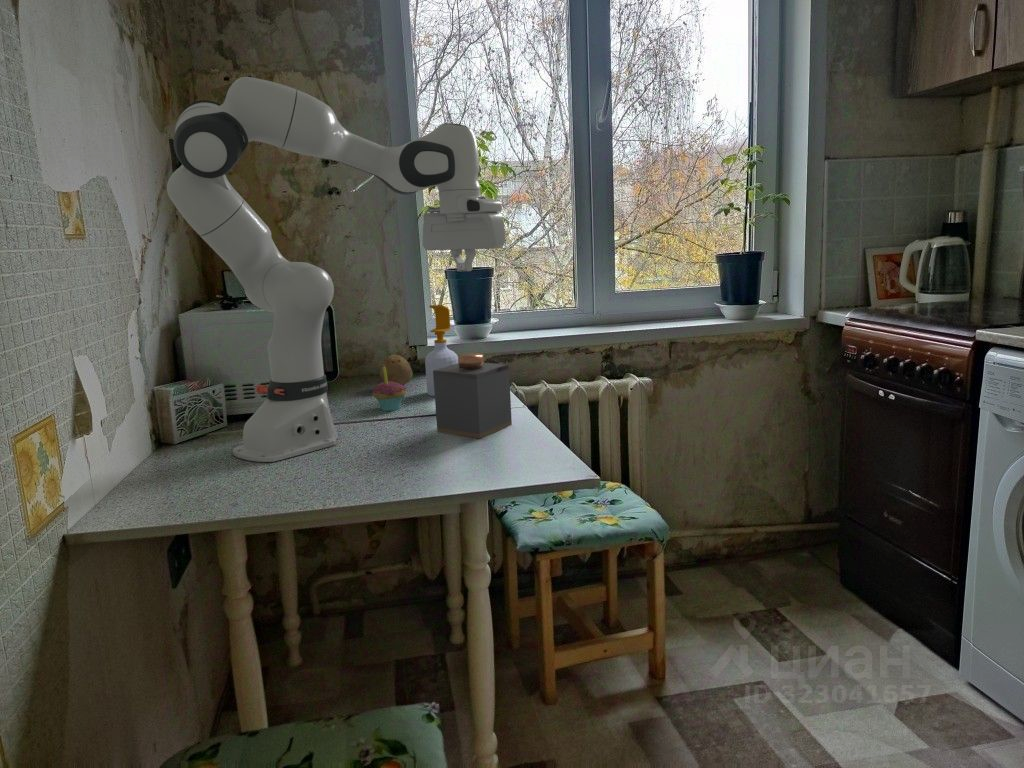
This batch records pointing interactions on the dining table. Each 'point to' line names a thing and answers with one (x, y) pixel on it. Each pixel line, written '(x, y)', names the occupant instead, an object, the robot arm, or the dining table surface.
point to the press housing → (472, 399)
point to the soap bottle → (439, 347)
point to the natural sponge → (396, 369)
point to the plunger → (470, 360)
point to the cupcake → (389, 394)
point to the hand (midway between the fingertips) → (464, 271)
